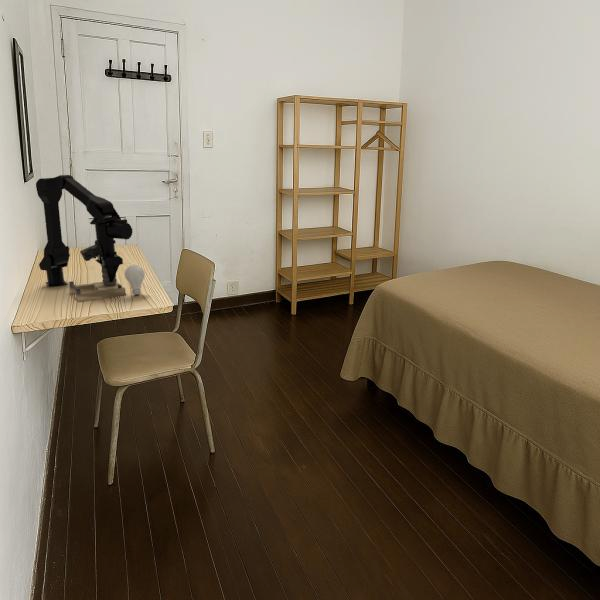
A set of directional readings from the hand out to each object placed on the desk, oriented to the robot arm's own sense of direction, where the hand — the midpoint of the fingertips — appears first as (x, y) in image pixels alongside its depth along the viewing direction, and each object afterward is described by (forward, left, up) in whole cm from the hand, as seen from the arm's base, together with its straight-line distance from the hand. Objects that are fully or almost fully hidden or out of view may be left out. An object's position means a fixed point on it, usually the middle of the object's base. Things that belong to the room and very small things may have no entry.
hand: (109, 280), depth 190 cm
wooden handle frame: (0, -4, -4) cm, 6 cm away
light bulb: (+10, +7, -4) cm, 13 cm away
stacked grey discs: (0, 0, -1) cm, 1 cm away
